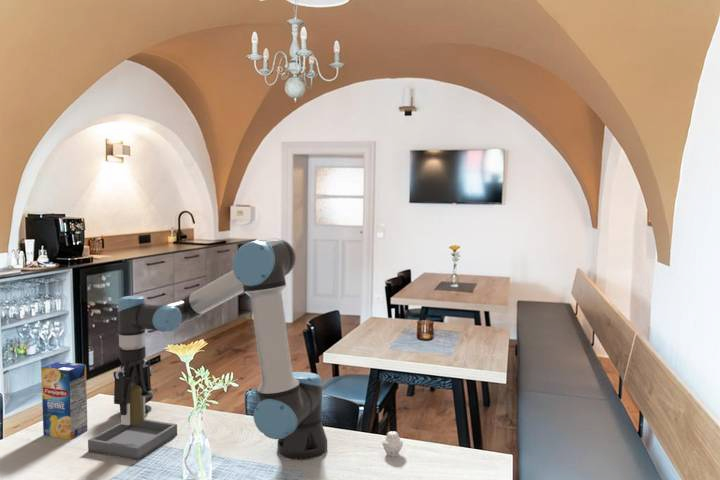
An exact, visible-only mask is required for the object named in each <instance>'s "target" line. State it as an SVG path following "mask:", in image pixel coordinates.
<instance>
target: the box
mask: <svg viewBox="0 0 720 480" xmlns="http://www.w3.org/2000/svg"><path fill="white" fill-rule="evenodd" d="M176 436H178V424H177V423H172V422H165V421H160V420H159V421H158V420H152V419H145V418H144V421H143V422H141V423H139V424H135V425H123V424H121V422H119V423H117V424H115V425H114V426H112V427H110V428H107V429H106V430H104V431H102V432H100V433H99V434H97V435H94V436H93V437H91V438H88V439H87V451H88V452H90V453H95V454H100V455H101V454H102V455H106V456H113V457H118V458H123V459H129V460H133V461H139V460H141V459H142V458H144V457H146V456H147V455H149V454H150V453H151V452H153V451H155V450H157V449H158V448H159V447H161V446H163V445H164V444H165V443H167V442H168V441H170V440H172V439H173V438H175V437H176Z"/></svg>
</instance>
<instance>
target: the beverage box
mask: <svg viewBox="0 0 720 480" xmlns="http://www.w3.org/2000/svg"><path fill="white" fill-rule="evenodd" d="M40 368H41V370H40V371H41V401H42V403H41V404H42V430H43V431H42V433H43V434H42V435H43V436H45V437H46V436H47V437H54V438H59V439H64V440H65V439H66V440H73V439H75V438H76V437H78V436H80V435H82V434H84V433H86V432H88V431H89V430H88V400H87V399H88V398H87V397H88V396H87V395H88V393H87V391H88V390H87V364H85V363H76V362H75V363H74V362H66V361H57V362H54V363H51V364H48V365H45V366H42V367H40Z"/></svg>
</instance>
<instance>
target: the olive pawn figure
mask: <svg viewBox="0 0 720 480" xmlns="http://www.w3.org/2000/svg"><path fill="white" fill-rule="evenodd" d="M141 394H142V388H141V387H140V386H138V385H131V389H130V394H129V399H128V403H130V425H135V424H139V423H141V422H143V421H144V419H145V418H144V416H143V410H142V404H141V398H140V396H141Z"/></svg>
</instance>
